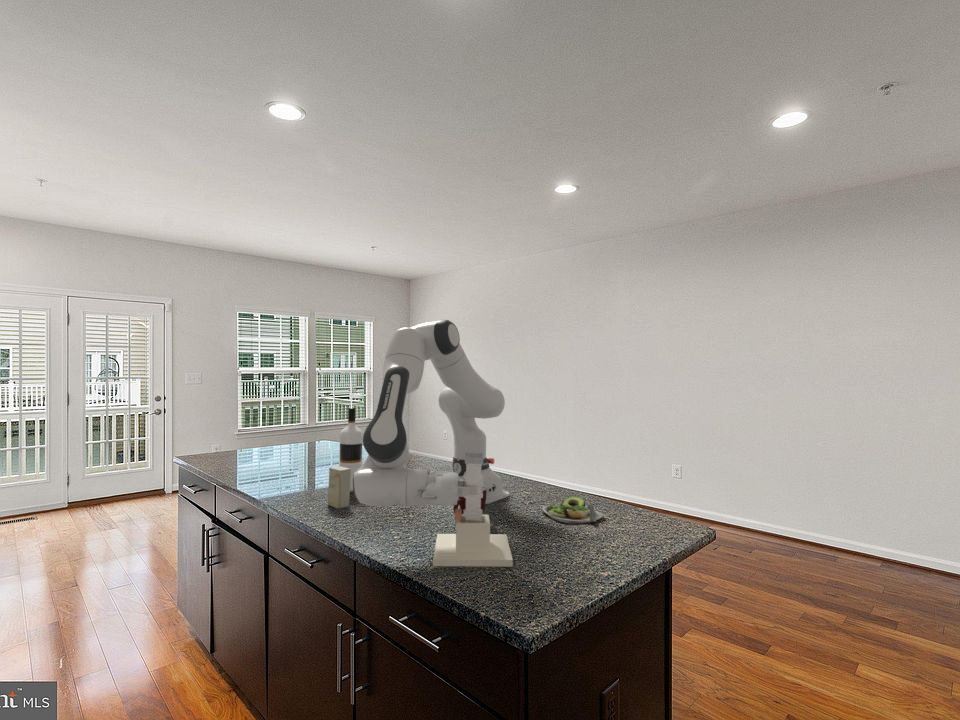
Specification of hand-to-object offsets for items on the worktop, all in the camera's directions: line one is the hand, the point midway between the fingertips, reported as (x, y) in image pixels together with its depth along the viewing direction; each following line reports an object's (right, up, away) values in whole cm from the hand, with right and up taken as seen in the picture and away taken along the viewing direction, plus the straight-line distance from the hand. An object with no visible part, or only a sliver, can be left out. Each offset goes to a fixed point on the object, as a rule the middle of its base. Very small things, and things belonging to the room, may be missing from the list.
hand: (477, 488), depth 124 cm
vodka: (-47, -16, +61) cm, 79 cm away
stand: (-1, -15, 0) cm, 16 cm away
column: (-1, -15, 0) cm, 16 cm away
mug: (-2, -16, +22) cm, 28 cm away
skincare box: (-45, -16, +39) cm, 62 cm away
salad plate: (+29, -17, +33) cm, 48 cm away
